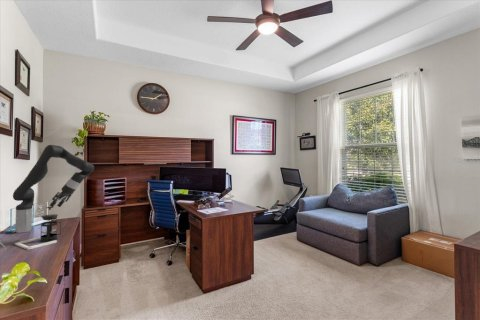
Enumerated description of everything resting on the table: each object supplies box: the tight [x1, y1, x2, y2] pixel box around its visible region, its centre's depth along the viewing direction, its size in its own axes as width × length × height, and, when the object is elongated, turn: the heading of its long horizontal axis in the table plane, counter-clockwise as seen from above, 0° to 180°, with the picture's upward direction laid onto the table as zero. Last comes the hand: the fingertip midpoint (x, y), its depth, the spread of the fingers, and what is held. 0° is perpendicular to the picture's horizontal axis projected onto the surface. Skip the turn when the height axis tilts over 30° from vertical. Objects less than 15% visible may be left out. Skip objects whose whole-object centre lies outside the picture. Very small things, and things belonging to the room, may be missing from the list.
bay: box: [14, 236, 58, 250], centre depth 153 cm, size 18×16×1 cm
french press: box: [39, 206, 62, 243], centre depth 160 cm, size 12×9×23 cm
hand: (54, 206), depth 160 cm, fingers open, 8 cm apart
